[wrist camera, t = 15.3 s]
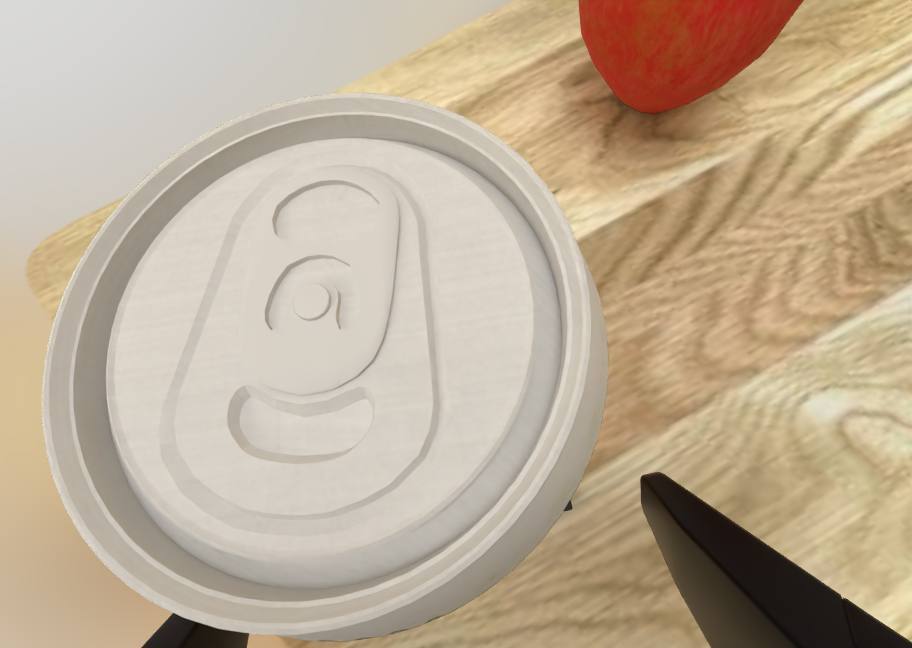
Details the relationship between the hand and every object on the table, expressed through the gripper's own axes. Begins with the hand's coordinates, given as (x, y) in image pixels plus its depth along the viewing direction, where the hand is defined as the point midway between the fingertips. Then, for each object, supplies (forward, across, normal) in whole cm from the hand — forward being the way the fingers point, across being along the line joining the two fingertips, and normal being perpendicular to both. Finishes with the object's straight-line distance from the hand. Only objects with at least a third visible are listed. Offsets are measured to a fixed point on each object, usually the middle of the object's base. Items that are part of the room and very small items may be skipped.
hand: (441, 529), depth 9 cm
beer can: (+8, 0, +4) cm, 9 cm away
